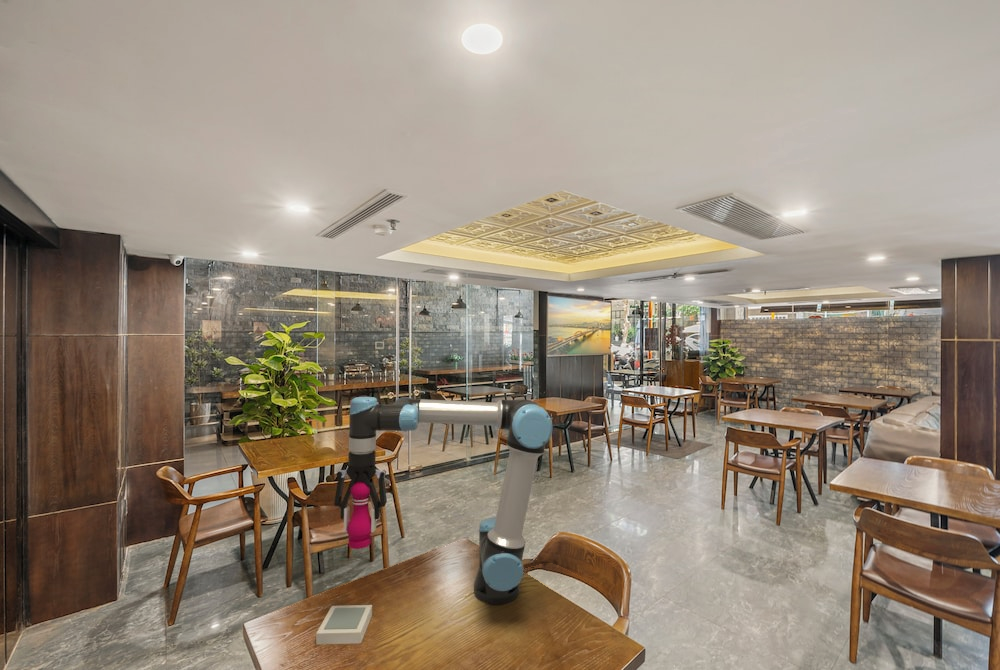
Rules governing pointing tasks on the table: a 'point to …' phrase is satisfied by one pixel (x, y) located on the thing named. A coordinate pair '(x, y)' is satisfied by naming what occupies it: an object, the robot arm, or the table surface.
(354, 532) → the pepper mill
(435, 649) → the table surface
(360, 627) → the base
